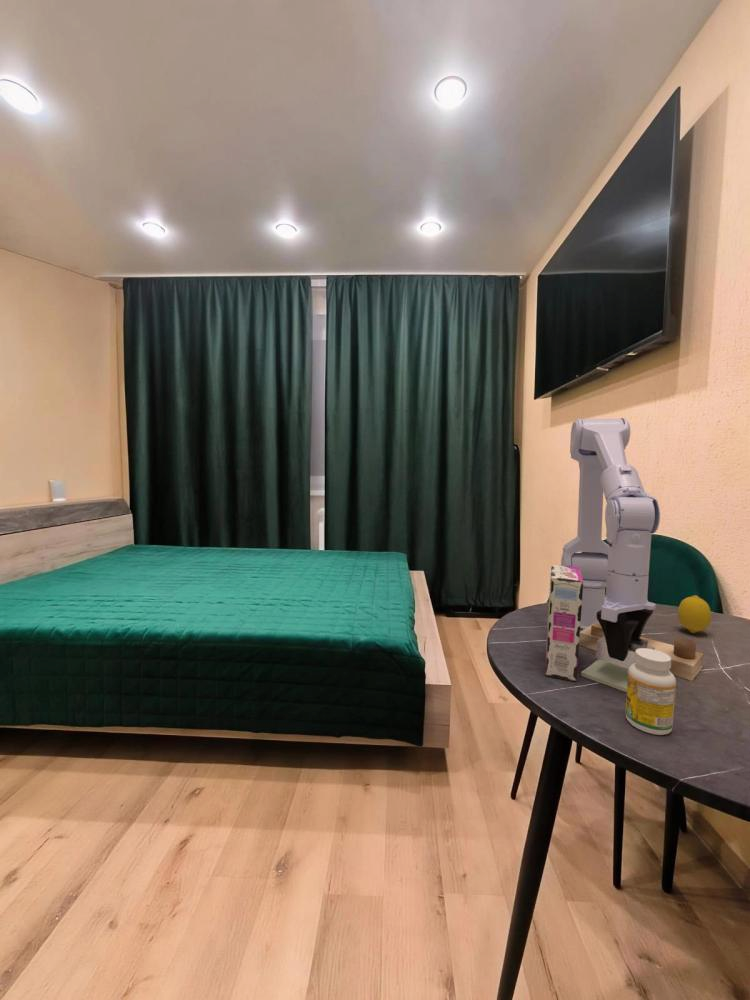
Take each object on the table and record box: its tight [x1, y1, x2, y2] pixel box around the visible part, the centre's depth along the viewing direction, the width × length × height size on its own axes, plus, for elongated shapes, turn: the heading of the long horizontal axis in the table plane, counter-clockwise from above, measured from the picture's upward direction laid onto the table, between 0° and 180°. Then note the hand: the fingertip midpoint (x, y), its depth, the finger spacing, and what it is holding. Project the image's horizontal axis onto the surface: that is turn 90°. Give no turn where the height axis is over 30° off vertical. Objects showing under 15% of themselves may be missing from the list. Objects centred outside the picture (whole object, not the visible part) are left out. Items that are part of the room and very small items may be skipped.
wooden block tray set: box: [579, 621, 705, 682], centre depth 78 cm, size 18×7×5 cm, turn 42°
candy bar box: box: [544, 564, 583, 682], centre depth 73 cm, size 11×5×16 cm, turn 158°
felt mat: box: [580, 659, 628, 693], centre depth 70 cm, size 9×9×1 cm
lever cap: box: [595, 636, 655, 669], centre depth 69 cm, size 7×4×4 cm, turn 42°
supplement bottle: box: [625, 648, 677, 736], centre depth 57 cm, size 5×5×10 cm
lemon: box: [677, 595, 712, 634], centre depth 89 cm, size 6×6×8 cm
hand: (622, 654), depth 69 cm, fingers closed on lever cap, 4 cm apart
